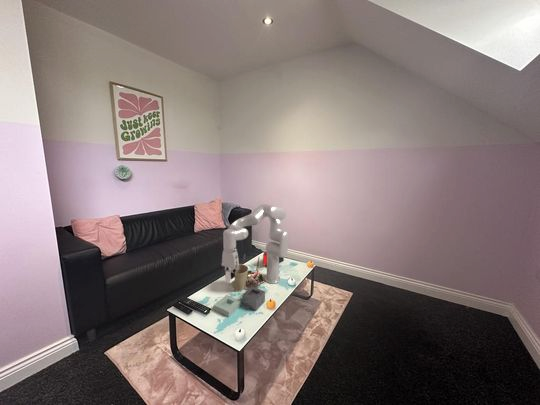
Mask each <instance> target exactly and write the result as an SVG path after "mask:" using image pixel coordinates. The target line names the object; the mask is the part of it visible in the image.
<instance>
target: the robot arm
mask: <svg viewBox="0 0 540 405" xmlns="http://www.w3.org/2000/svg"><path fill="white" fill-rule="evenodd" d="M266 217H267V218H268V219H269V233H268V234H269V235H268V236H269V239H270V240H271V241H268V242H267V243H266V246H265V251H266V253H267V267H266V276H265V275H264V281H265V282H266V283H268V284H272V285H273V284H278V283H280V281H281V277H280V275H279V274H280V273H281V270H280V269H279V268H280V263H279V257H282V258H283V257H284V258H286V256H287V254H288V250H289V241H290V235H289V232H287V231H286V230H284V229H282V220H284V219H285V218H286V217H287V211H286V210H285V208H283V207H279V206H275V205H272V204H266V203H262V204H260V205H259V206H257V207H256V208H255V209H254V210H253V211H252V212H250V213H249V214H248V215H245V216H243V217H240V218H238V219H236V220H235V221H233V222H232V223H231V224H230V225H229V227H228V228H227V229H225V230H223V232H222V233H223V234H222V235H223V236H222V238H223V250H222V254H221V255H222V257H221V264H220V265H221V267H223V268H224V271H225V272H226V271H227V270H229V268H231V279H233V278H234V277H235V271H237V270H239V267H238V266H239V264H240V261H239V254H238V249H237V241H243V240H245V239H247V238H248V236H249V230H248V229H247V228H246V227H251V226H256V225H258V224H259V223H261V221H262V220H264V219H265V218H266ZM235 267H236V269H235ZM233 269H234V270H233Z"/></svg>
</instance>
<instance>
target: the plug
mask: <svg viewBox="0 0 540 405" xmlns="http://www.w3.org/2000/svg"><path fill="white" fill-rule="evenodd" d="M233 270H234V269H233ZM234 280H235V277H234V278H233V279H231V268H230V269H229V270H227V271H225V282H226V283H229V284H231V282H233V281H234Z"/></svg>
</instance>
